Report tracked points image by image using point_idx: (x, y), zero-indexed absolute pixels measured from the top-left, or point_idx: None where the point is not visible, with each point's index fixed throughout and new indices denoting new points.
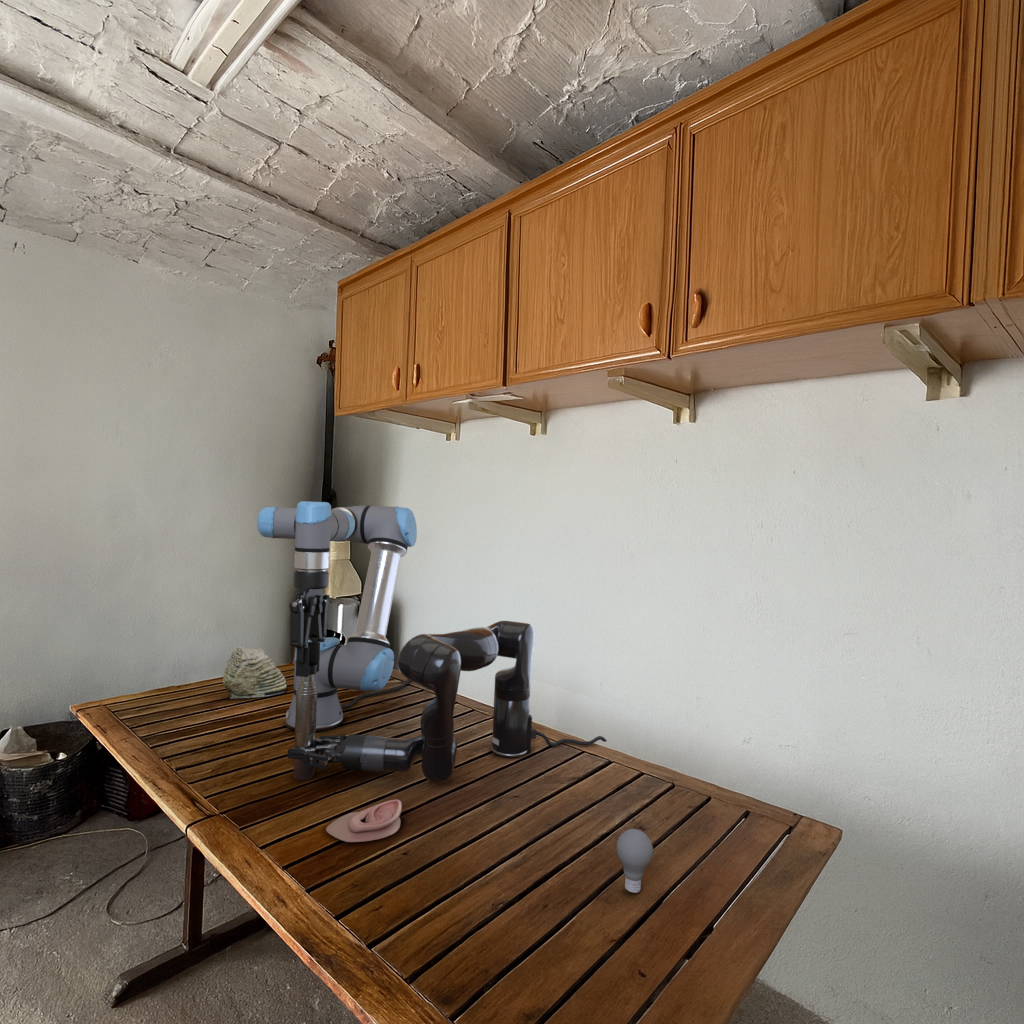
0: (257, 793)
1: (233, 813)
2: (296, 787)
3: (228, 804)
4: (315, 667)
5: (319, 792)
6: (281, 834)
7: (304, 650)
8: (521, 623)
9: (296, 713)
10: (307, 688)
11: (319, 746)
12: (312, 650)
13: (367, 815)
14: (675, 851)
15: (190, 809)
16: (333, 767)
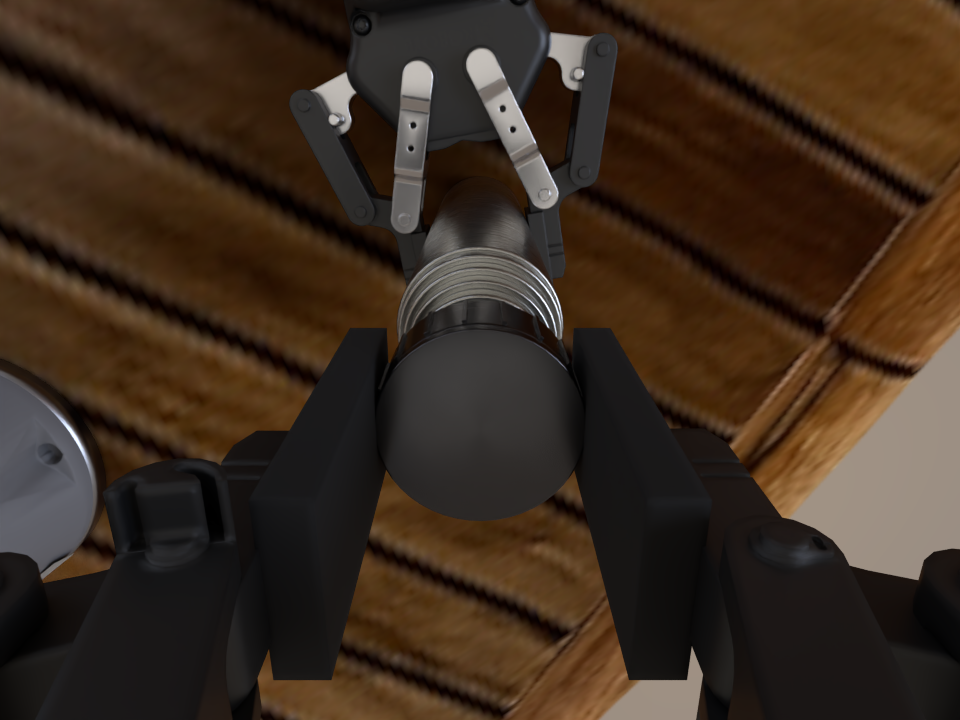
0: (663, 302)
1: (819, 292)
2: (582, 191)
3: (760, 346)
4: (488, 321)
5: None
6: (951, 31)
7: (710, 519)
8: None
9: None
10: (543, 305)
11: (514, 140)
12: (350, 519)
13: None
14: None
15: (812, 434)
16: (360, 140)
